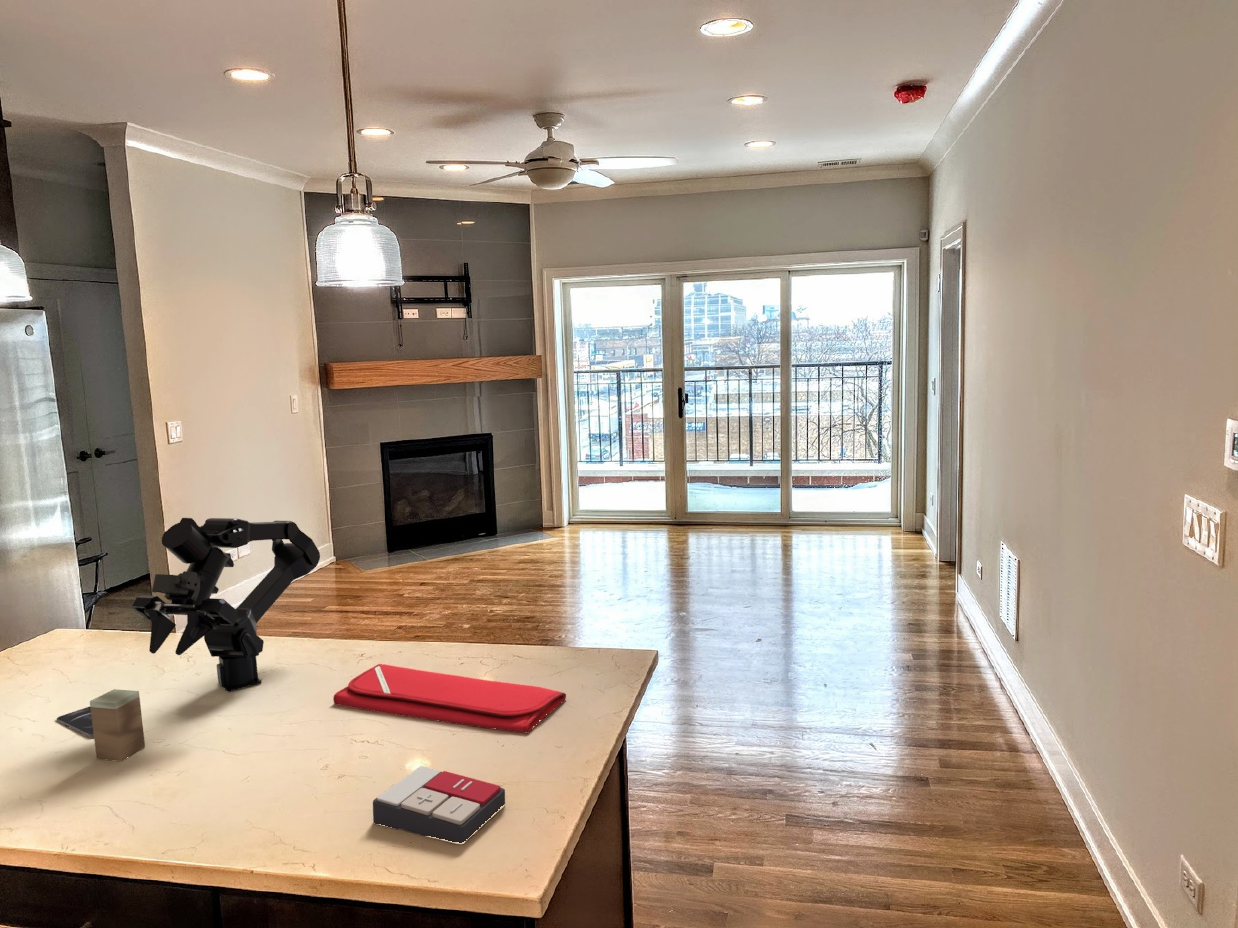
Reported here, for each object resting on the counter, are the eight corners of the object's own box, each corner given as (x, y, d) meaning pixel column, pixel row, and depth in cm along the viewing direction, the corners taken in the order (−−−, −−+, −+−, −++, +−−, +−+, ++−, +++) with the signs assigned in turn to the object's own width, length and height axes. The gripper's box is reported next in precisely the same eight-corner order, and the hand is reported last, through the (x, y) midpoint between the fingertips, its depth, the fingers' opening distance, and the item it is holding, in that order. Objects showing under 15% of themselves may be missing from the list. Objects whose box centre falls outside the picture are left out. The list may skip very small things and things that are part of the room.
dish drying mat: (527, 738, 146) (526, 717, 146) (331, 708, 162) (329, 689, 161) (567, 701, 161) (566, 682, 160) (383, 677, 176) (382, 659, 176)
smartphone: (97, 703, 165) (135, 720, 156) (97, 708, 165) (136, 725, 157) (53, 718, 159) (91, 736, 150) (54, 722, 159) (91, 741, 151)
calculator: (461, 822, 114) (370, 796, 120) (462, 852, 115) (371, 824, 121) (506, 783, 124) (420, 760, 130) (506, 811, 124) (420, 787, 130)
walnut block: (120, 745, 148) (114, 689, 146) (145, 747, 147) (138, 691, 145) (96, 758, 143) (89, 701, 142) (121, 761, 142) (115, 703, 140)
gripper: (133, 553, 159) (91, 630, 150) (220, 555, 155) (182, 635, 146) (169, 582, 168) (131, 658, 159) (253, 586, 163) (219, 663, 154)
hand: (164, 653), depth 154 cm, fingers open, 5 cm apart
